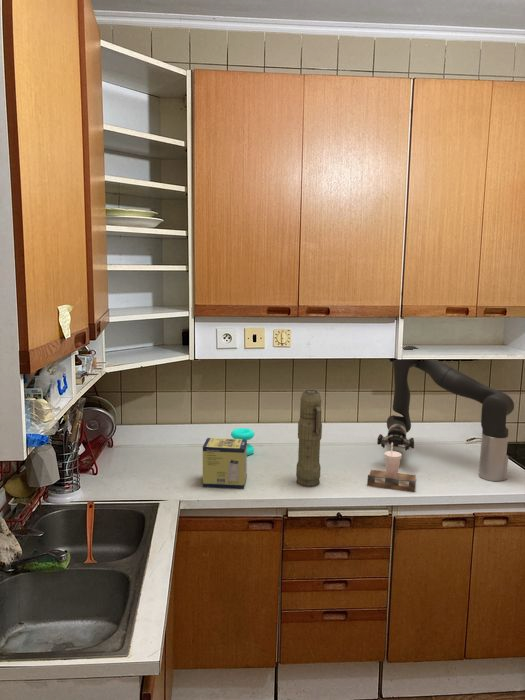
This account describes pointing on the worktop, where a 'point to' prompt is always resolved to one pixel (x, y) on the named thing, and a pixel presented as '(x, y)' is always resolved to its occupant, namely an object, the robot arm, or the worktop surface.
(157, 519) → the worktop surface
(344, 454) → the worktop surface
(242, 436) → the donuts
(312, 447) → the thermos
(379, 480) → the shelf board
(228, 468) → the protein box
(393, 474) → the smoothie
